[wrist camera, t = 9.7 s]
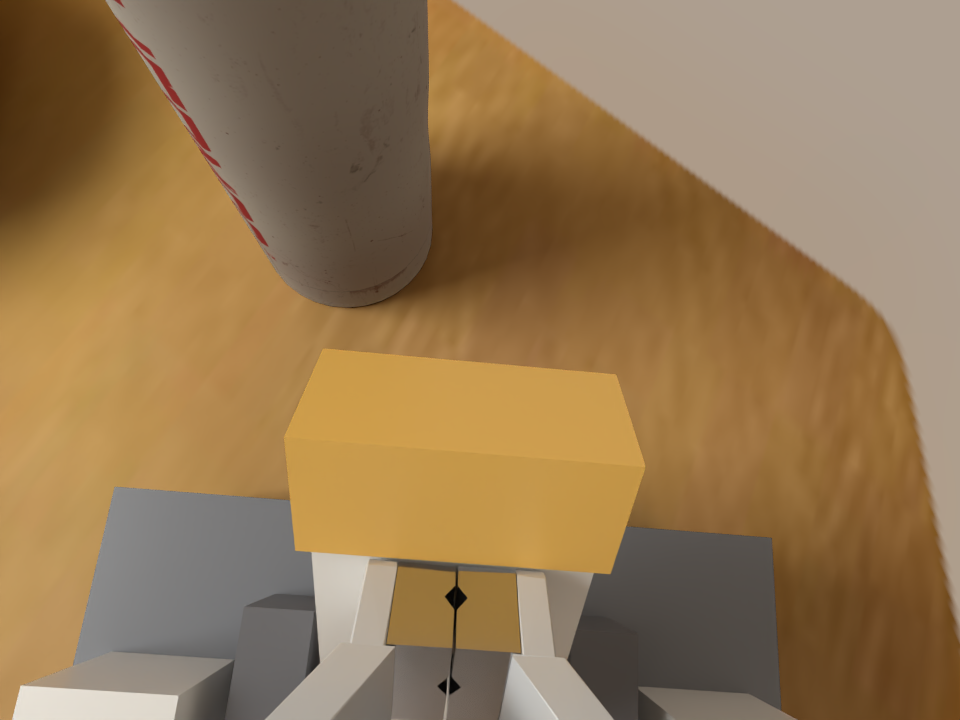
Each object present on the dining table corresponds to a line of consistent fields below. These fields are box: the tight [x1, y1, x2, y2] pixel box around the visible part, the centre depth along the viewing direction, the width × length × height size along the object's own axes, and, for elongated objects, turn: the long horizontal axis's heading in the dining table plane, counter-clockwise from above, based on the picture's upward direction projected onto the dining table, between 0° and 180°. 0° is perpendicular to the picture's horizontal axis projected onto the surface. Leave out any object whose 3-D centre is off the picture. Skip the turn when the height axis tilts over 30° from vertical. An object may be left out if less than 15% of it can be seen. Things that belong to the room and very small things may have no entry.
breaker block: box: [12, 487, 797, 720], centre depth 19 cm, size 10×19×13 cm, turn 86°
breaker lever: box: [284, 349, 646, 720], centre depth 13 cm, size 2×5×11 cm
